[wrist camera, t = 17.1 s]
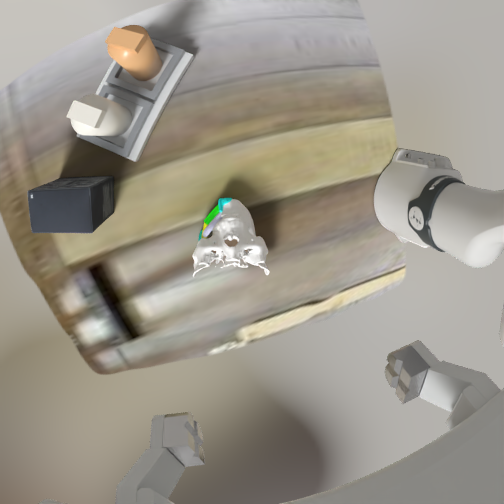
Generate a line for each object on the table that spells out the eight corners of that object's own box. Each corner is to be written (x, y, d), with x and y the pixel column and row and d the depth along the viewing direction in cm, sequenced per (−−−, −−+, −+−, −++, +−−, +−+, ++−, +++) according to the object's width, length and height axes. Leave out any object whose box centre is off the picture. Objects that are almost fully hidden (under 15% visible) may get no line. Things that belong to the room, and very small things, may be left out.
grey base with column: (133, 36, 31) (107, -1, 18) (193, 58, 35) (189, 22, 21) (81, 136, 36) (33, 137, 23) (138, 160, 39) (107, 170, 26)
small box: (60, 215, 40) (30, 235, 30) (58, 177, 38) (25, 189, 28) (115, 215, 42) (92, 236, 32) (114, 175, 39) (89, 185, 30)
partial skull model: (272, 194, 42) (279, 255, 38) (262, 221, 50) (268, 274, 46) (189, 194, 40) (188, 257, 36) (193, 222, 48) (193, 277, 44)
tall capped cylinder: (140, 48, 31) (118, 16, 19) (168, 57, 32) (154, 25, 21) (124, 75, 32) (95, 51, 21) (152, 85, 34) (131, 62, 22)
